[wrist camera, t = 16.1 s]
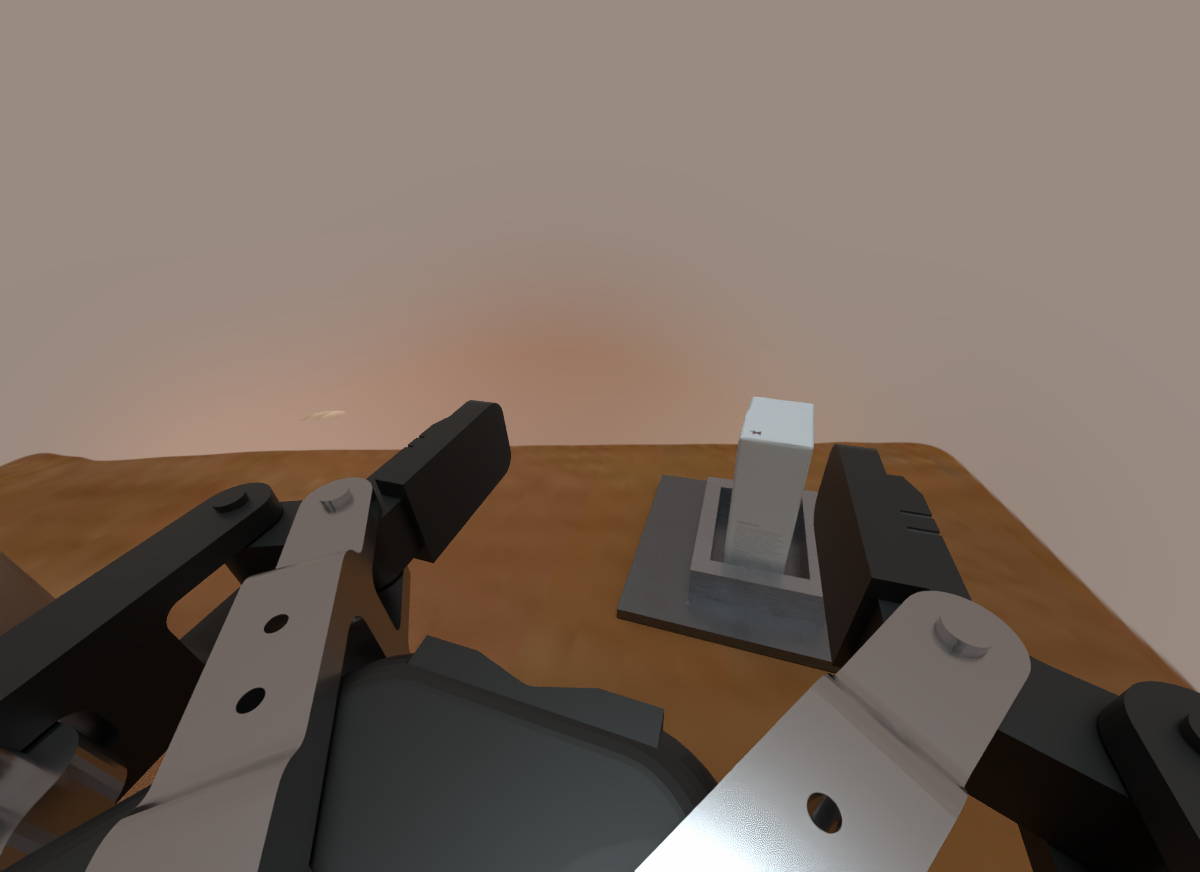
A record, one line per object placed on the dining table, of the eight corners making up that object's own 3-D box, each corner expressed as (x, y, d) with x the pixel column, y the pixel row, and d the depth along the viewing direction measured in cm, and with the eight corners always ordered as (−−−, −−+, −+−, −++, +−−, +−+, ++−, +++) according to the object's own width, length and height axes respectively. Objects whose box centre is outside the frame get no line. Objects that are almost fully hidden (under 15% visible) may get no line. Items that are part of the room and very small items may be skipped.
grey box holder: (617, 617, 30) (615, 585, 28) (662, 482, 43) (662, 454, 41) (912, 692, 25) (933, 658, 23) (863, 512, 37) (874, 480, 36)
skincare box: (781, 589, 30) (815, 449, 24) (720, 573, 32) (736, 437, 25) (787, 532, 35) (816, 401, 28) (733, 520, 36) (750, 394, 30)
